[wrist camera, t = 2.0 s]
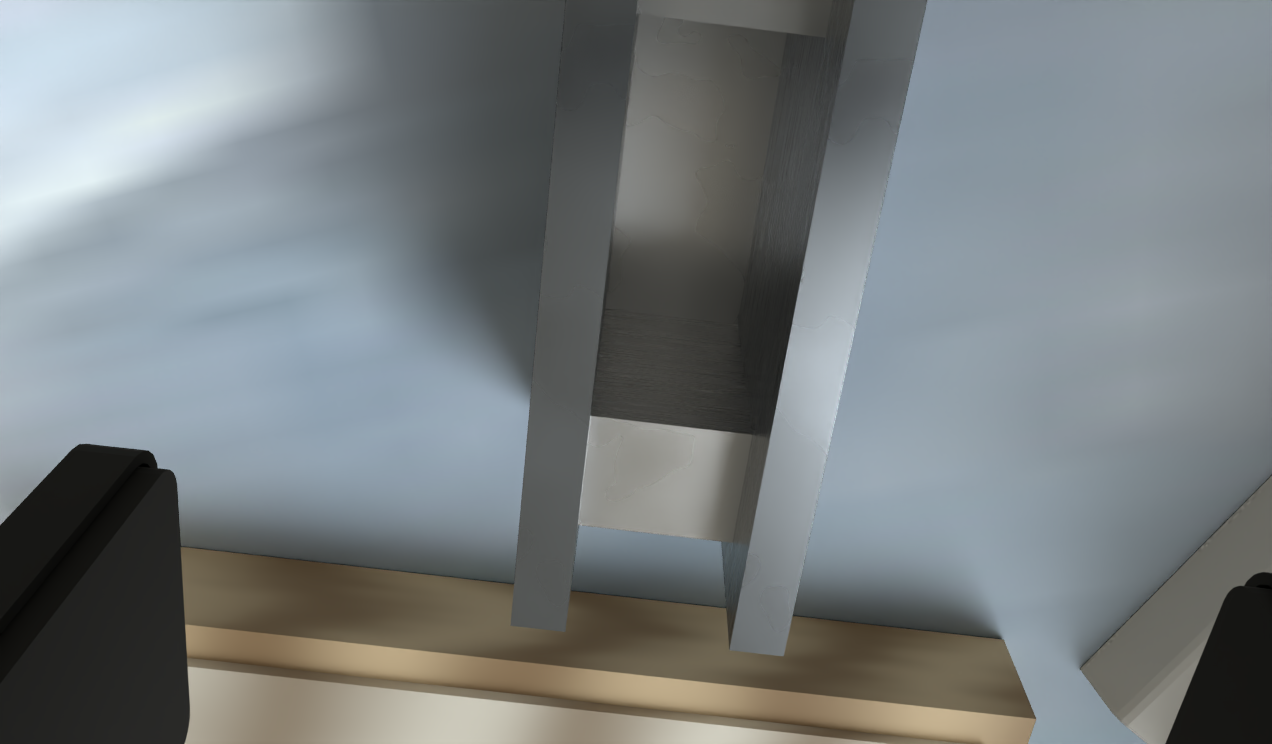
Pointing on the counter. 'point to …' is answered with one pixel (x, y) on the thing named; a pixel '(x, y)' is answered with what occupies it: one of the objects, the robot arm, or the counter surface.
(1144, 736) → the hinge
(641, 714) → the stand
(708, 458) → the housing
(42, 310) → the counter surface
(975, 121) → the counter surface
